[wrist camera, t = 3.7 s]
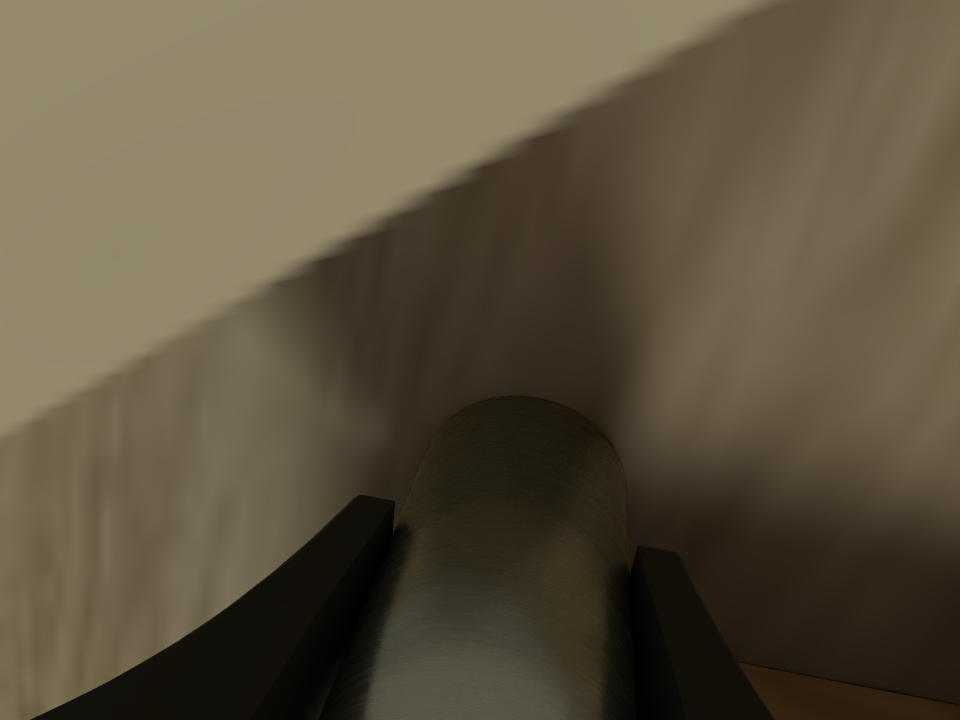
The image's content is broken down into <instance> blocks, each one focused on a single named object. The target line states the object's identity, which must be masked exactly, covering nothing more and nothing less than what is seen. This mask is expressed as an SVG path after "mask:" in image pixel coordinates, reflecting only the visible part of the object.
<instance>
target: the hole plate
mask: <svg viewBox="0 0 960 720" xmlns="http://www.w3.org/2000/svg"><path fill="white" fill-rule="evenodd" d="M738 664H739V665H740V667H741V669H742V670H743V672H744V673H745V675H746V677H747V678H748V680H749V681H750V683H751V684H752V686H753V687H754V689H755V690H756V692H757V693H758V695H759V696H760V698H761V699H762V701H763V702H764V704H765V705H766V707H767V708H768V710H769V711H770V713H771V714H772V716H773V717H774V718H775V720H960V706H959V705H954V704H949V703H944V702H939V701H934V700H929V699H923V698H918V697H913V696H908V695H903V694H898V693H892V692H887V691H882V690H877V689H872V688H867V687H862V686H856V685H851V684H846V683H841V682H836V681H831V680H826V679H820V678H815V677H810V676H805V675H800V674H795V673H789V672H784V671H779V670H774V669H769V668H764V667H759V666H753V665H748V664H743V663H738Z"/></svg>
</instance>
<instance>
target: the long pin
mask: <svg viewBox="0 0 960 720" xmlns="http://www.w3.org/2000/svg"><path fill="white" fill-rule="evenodd" d="M318 720H636V699H635V678H634V657H633V636H632V615H631V595H630V574H629V553H628V532H627V511H626V490H625V478H624V472H623V469H622V465H621V462H620V460H619V457H618V455H617V453H616V451H615V449H614V448H613V446H612V445H611V443H610V442H609V441H608V439H607V438H606V437H605V436H604V435H603V433H602V432H601V431H600V430H599V429H598V428H597V427H595V426H594V425H593V424H592V423H591V422H590V421H588V420H587V419H585V418H584V417H582V416H581V415H579V414H578V413H576V412H574V411H572V410H570V409H568V408H566V407H564V406H561V405H559V404H556V403H553V402H550V401H546V400H542V399H537V398H529V397H502V398H494V399H490V400H486V401H482V402H479V403H477V404H474V405H471V406H469V407H467V408H465V409H463V410H461V411H460V412H458V413H457V414H455V415H454V416H452V417H451V418H450V419H448V420H447V421H446V422H445V423H444V424H443V425H442V426H441V427H440V429H439V430H438V431H437V432H436V434H435V435H434V436H433V438H432V440H431V442H430V444H429V446H428V448H427V451H426V453H425V455H424V458H423V460H422V463H421V465H420V468H419V470H418V473H417V475H416V478H415V480H414V483H413V485H412V488H411V490H410V493H409V495H408V498H407V500H406V503H405V505H404V508H403V510H402V513H401V515H400V518H399V520H398V523H397V525H396V528H395V530H394V533H393V535H392V538H391V540H390V543H389V545H388V548H387V550H386V552H385V555H384V557H383V560H382V562H381V565H380V567H379V570H378V572H377V575H376V577H375V580H374V582H373V585H372V587H371V590H370V592H369V595H368V597H367V600H366V602H365V605H364V607H363V610H362V612H361V615H360V617H359V620H358V622H357V625H356V627H355V630H354V632H353V635H352V637H351V640H350V642H349V645H348V647H347V649H346V652H345V654H344V657H343V659H342V662H341V664H340V667H339V669H338V672H337V674H336V677H335V679H334V682H333V684H332V687H331V689H330V692H329V694H328V697H327V699H326V702H325V704H324V707H323V709H322V712H321V714H320V717H319V719H318Z"/></svg>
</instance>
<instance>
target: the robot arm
mask: <svg viewBox="0 0 960 720" xmlns="http://www.w3.org/2000/svg"><path fill="white" fill-rule="evenodd" d="M394 507H395V501H392V500H386V499H381V498H375V497H370V496H364V495H359V496H357V497H356V498H354V499H353V500H352V501H351V502H350V503H349V504H348V505H347V506H346V507H345V508H344V509H342V510H341V511H340V512H339V513H338V514H337V515H336V516H335V517H334V518H333V519H332V520H331V521H330V522H329V523H328V524H327V525H326V526H325V527H324V528H323V529H322V530H320V531H319V532H318V533H317V534H316V535H315V536H314V537H313V538H312V539H311V540H310V541H308V542H307V543H306V544H305V545H304V546H303V547H302V548H300V549H299V550H298V551H297V552H296V553H295V554H294V555H292V556H291V557H290V558H289V559H288V560H287V561H285V562H284V563H283V564H282V565H281V566H280V567H278V568H277V569H276V570H275V571H274V572H272V573H271V574H270V575H269V576H268V577H266V578H265V579H264V580H262V581H261V582H260V583H258V584H257V585H256V586H255V587H253V588H252V589H251V590H249V591H248V592H247V593H246V594H244V595H243V596H242V597H240V598H239V599H238V600H237V601H235V602H234V603H233V604H231V605H230V606H229V607H227V608H226V609H224V610H223V611H222V612H220V613H219V614H217V615H216V616H215V617H213V618H212V619H210V620H209V621H207V622H206V623H204V624H203V625H202V626H200V627H199V628H197V629H196V630H194V631H192V632H191V633H189V634H188V635H186V636H185V637H183V638H182V639H180V640H179V641H177V642H176V643H174V644H172V645H171V646H169V647H167V648H166V649H164V650H162V651H161V652H159V653H157V654H156V655H154V656H152V657H151V658H149V659H147V660H146V661H144V662H142V663H141V664H139V665H137V666H135V667H134V668H132V669H130V670H128V671H126V672H125V673H123V674H121V675H119V676H118V677H116V678H114V679H112V680H110V681H109V682H107V683H105V684H103V685H101V686H99V687H97V688H95V689H93V690H91V691H89V692H87V693H85V694H83V695H81V696H79V697H77V698H75V699H73V700H71V701H69V702H67V703H65V704H63V705H61V706H59V707H56V708H54V709H52V710H50V711H48V712H46V713H44V714H42V715H39V716H37V717H35V718H33V719H31V720H318V719H319V717H320V714H321V712H322V709H323V707H324V704H325V702H326V699H327V697H328V694H329V692H330V689H331V687H332V684H333V682H334V679H335V677H336V674H337V672H338V669H339V667H340V664H341V662H342V659H343V657H344V654H345V652H346V649H347V647H348V645H349V642H350V640H351V637H352V635H353V632H354V630H355V627H356V625H357V622H358V620H359V617H360V615H361V612H362V610H363V607H364V605H365V602H366V600H367V597H368V595H369V592H370V590H371V587H372V585H373V582H374V580H375V577H376V575H377V572H378V570H379V567H380V565H381V562H382V560H383V557H384V555H385V552H386V550H387V548H388V545H389V543H390V540H391V538H392V535H393V522H394ZM630 595H631V615H632V636H633V657H634V678H635V699H636V720H775V718H774V717H773V716H772V714H771V713H770V711H769V710H768V708H767V707H766V705H765V704H764V702H763V701H762V699H761V698H760V696H759V695H758V693H757V692H756V690H755V689H754V687H753V686H752V684H751V683H750V681H749V680H748V678H747V677H746V675H745V673H744V672H743V670H742V669H741V667H740V665H739V664H738V662H737V660H736V659H735V657H734V655H733V654H732V652H731V650H730V649H729V647H728V645H727V644H726V642H725V641H724V639H723V637H722V636H721V634H720V632H719V630H718V629H717V627H716V625H715V623H714V622H713V620H712V618H711V616H710V614H709V613H708V611H707V609H706V607H705V605H704V603H703V602H702V600H701V598H700V596H699V594H698V592H697V590H696V588H695V586H694V584H693V583H692V581H691V579H690V577H689V575H688V573H687V571H686V569H685V567H684V565H683V563H682V561H681V559H680V557H679V556H678V555H677V553H676V552H672V551H666V550H661V549H655V548H650V547H644V546H639V545H638V547H637V551H636V554H635V558H634V562H633V566H632V570H631V574H630Z"/></svg>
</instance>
